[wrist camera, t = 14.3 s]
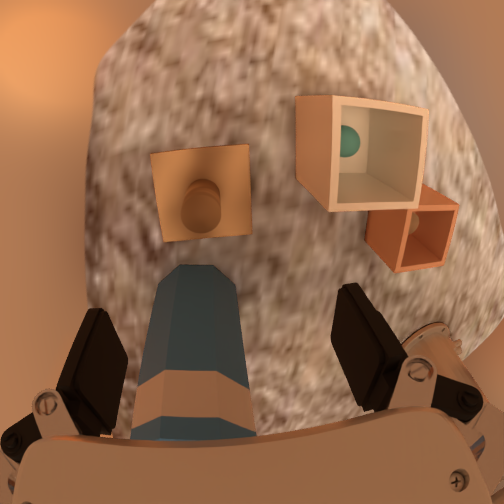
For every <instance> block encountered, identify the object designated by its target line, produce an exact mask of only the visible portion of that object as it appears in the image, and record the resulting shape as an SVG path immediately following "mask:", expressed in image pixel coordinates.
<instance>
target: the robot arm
mask: <svg viewBox="0 0 504 504" xmlns="http://www.w3.org/2000/svg"><path fill="white" fill-rule="evenodd" d="M449 336H450V331H449V328H448V327H447V326H446V325H445V324H444V323H433V324H430V325H428V326H426V327H424V328H422V329H420V330H419V331H417V332H416V333H414V334H413V335H412V336H411V337H410V338H408V339H407V340H406V341H405V342H404V343H403V344H402V345H401V344H400V342H399V340H398V339H397V337H396V336H395V334H394V333H393V331H392V330H391V328H390V326H389V325H388V323H387V322H386V320H385V319H384V317H383V316H382V314H381V313H380V312H379V311H376V310H375V308H374V306H373V305H372V303H371V302H370V300H369V299H368V297H367V296H366V295H365V293H364V292H363V290H362V289H361V287H360V286H359V284H358V283H350V284H344V285H343V286H342V288H340V289H339V290H338V295H337V301H336V308H335V314H334V320H333V325H332V331H331V343H332V345H333V348H334V350H335V352H336V355H337V357H338V359H339V362H340V364H341V367H342V369H343V371H344V374H345V376H346V378H347V381H348V383H349V386H350V388H351V391H352V393H353V395H354V398H355V400H356V403H357V405H358V406H362V408H363V410H364V412H365V411H369V410H372V409H373V410H374V413H370V414H366V415H363V416H359V417H355V418H351V419H347V420H343V421H338V422H334V423H329V424H325V425H321V426H316V427H311V428H306V429H300V430H295V431H289V432H283V433H276V434H269V435H262V436H253V437H244V438H233V439H220V440H201V441H150V440H131V439H117V438H105V437H100V434H105V435H111V432H112V429H114V428H115V426H116V420H117V415H118V409H119V404H120V398H121V393H122V388H123V383H124V379H125V374H126V369H127V365H128V357H127V354H126V352H125V350H124V348H123V346H122V344H121V341H120V339H119V337H118V335H117V333H116V331H115V328H114V326H113V324H112V322H111V319H110V317H109V315H108V313H107V312H106V311H104V310H103V309H102V308H90V309H88V311H87V313H86V315H85V317H84V320H83V322H82V324H81V326H80V328H79V331H78V333H77V335H76V338H75V340H74V342H73V345H72V347H71V350H70V352H69V355H68V357H67V360H66V362H65V365H64V367H63V370H62V373H61V375H60V378H59V381H58V383H57V387H56V390H53V389H45V390H43V391H41V392H39V393H38V394H37V395H36V396H35V398H34V400H33V402H32V411H33V412H32V413H31V414H29V415H28V416H26V417H25V418H23V419H22V420H20V421H19V422H17V423H15V424H14V425H12V426H11V427H9V428H8V429H7V430H6V431H5V432H4V433H3V435H2V437H1V443H0V445H1V449H0V504H504V487H503V488H502V489H500V490H499V491H497V492H496V493H494V491H495V489H496V487H497V485H498V484H499V482H501V481H502V480H503V479H504V412H502V411H501V410H499V409H498V408H496V407H495V406H493V405H492V404H490V403H489V401H488V399H487V398H486V396H485V395H484V393H483V392H482V390H481V389H480V387H479V386H478V384H477V383H476V381H475V380H474V378H473V377H472V375H471V374H470V372H469V371H468V369H467V368H466V366H465V365H464V363H463V362H462V361H461V359H460V358H459V356H458V355H459V354H461V351H462V350H461V347H460V346H461V345H462V341H461V340H460V339H458V340H456V341H454V342H452V340H451V339H450V338H449ZM493 493H494V494H493ZM492 494H493V495H492Z"/></svg>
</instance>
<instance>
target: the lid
mask: <svg viewBox="0 0 504 504" xmlns="http://www.w3.org/2000/svg"><path fill="white" fill-rule="evenodd" d="M150 158H151V166H152V174H153V181H154V188H155V194H156V201H157V207H158V213H159V219H160V225H161V230H162V236H163V241H164V242H170V241H180V240H191V239H202V238H213V237H224V236H235V235H247V234H252V213H251V186H250V160H249V144H239V145H224V146H212V147H201V148H191V149H182V150H173V151H165V152H158V153H151V154H150Z"/></svg>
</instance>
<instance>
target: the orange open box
mask: <svg viewBox="0 0 504 504" xmlns="http://www.w3.org/2000/svg"><path fill="white" fill-rule="evenodd" d="M458 209H459V204H457V203H456V202H454V201H452V200H451V199H449V198H447V197H446V196H444V195H442V194H440V193H439V192H437V191H435V190H433V189H432V188H430V187H428V186H426V185H424V184H422V187H421V194H420V200H419V206H418V209H387V210H369V211H368V218H367V226H366V233H365V239H364V240H365V242H366V243H367V244H368V245H369V246H370V247H371V248H372V249H373V250H374V251H375V252H376V253H377V255H378V256H379V257H380V258H381V259H382V260H383V261H384V262H385V263H386V265H387V266H388V267H389V268H390V269H391V270H392V271H393V273H400V272H406V271H413V270H419V269H425V268H431V267H437V266H443V265H444V263H445V260H446V256H447V253H448V249H449V246H450V242H451V239H452V235H453V231H454V227H455V223H456V218H457V214H458ZM412 212H414V213H415V214H416V215H417V216H418V217H419V225H418V227H417V229H416V230H415V231H414V232H413V233H411V234H408V232H409V227H410V222H411V216H412Z"/></svg>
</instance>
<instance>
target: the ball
mask: <svg viewBox="0 0 504 504" xmlns="http://www.w3.org/2000/svg"><path fill="white" fill-rule="evenodd" d="M359 148H360V137H359V135H358V133H357V132H356V131H355V130H354V129H353V128H352V127H349V126H346V125H341V141H340V157H351V156H353V155H354V154H356V153H357V151H358V150H359Z"/></svg>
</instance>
